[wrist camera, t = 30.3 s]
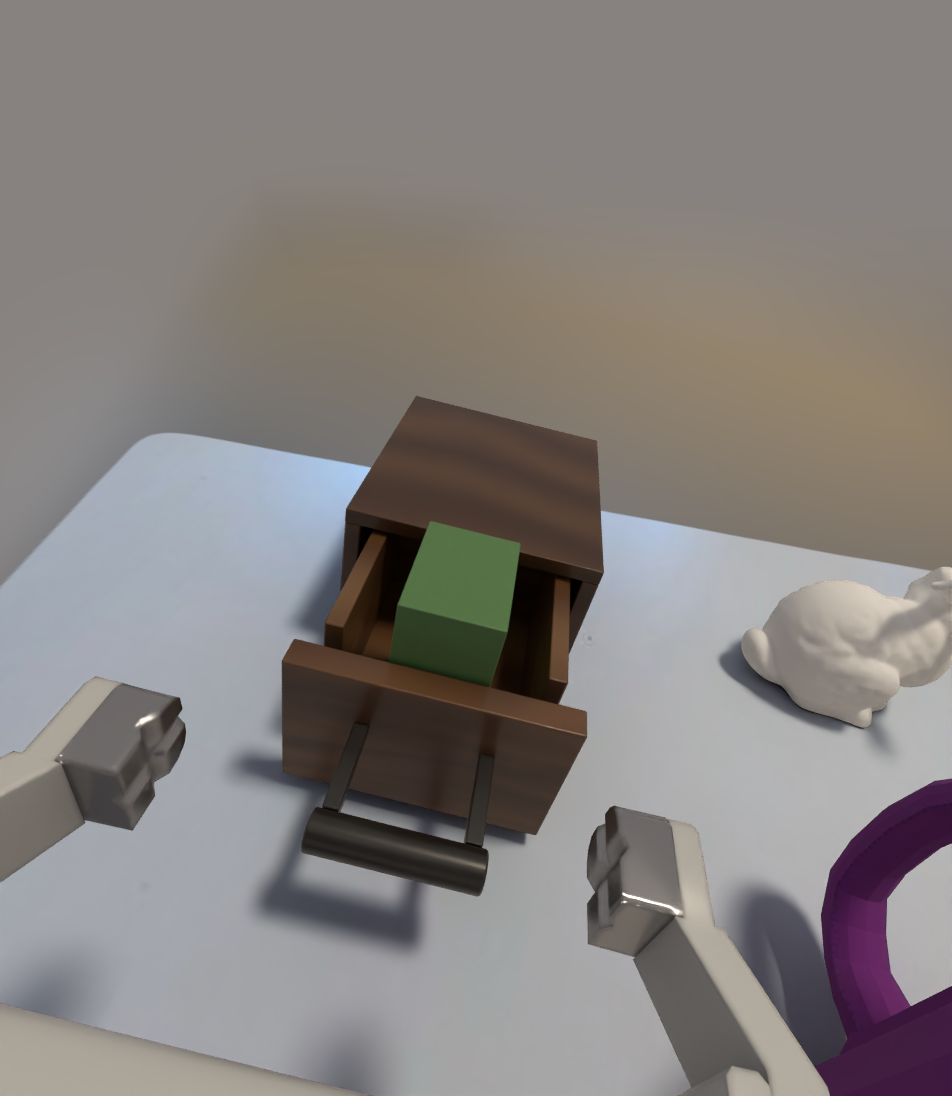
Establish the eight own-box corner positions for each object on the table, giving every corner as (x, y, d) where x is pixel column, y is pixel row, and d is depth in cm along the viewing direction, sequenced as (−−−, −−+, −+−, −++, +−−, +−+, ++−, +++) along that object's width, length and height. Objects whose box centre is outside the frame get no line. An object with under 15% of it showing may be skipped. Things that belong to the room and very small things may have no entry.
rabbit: (872, 655, 42) (994, 519, 34) (955, 775, 34) (1132, 633, 27) (712, 628, 40) (804, 481, 33) (761, 746, 33) (892, 589, 26)
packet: (374, 751, 26) (397, 604, 20) (404, 660, 30) (430, 520, 25) (462, 773, 26) (507, 632, 20) (479, 679, 30) (521, 542, 25)
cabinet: (552, 694, 33) (604, 572, 28) (336, 640, 33) (345, 508, 28) (559, 546, 45) (597, 440, 39) (400, 506, 45) (415, 395, 39)
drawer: (528, 966, 21) (589, 877, 17) (226, 890, 21) (211, 783, 17) (549, 624, 36) (585, 530, 32) (371, 580, 36) (383, 480, 32)
